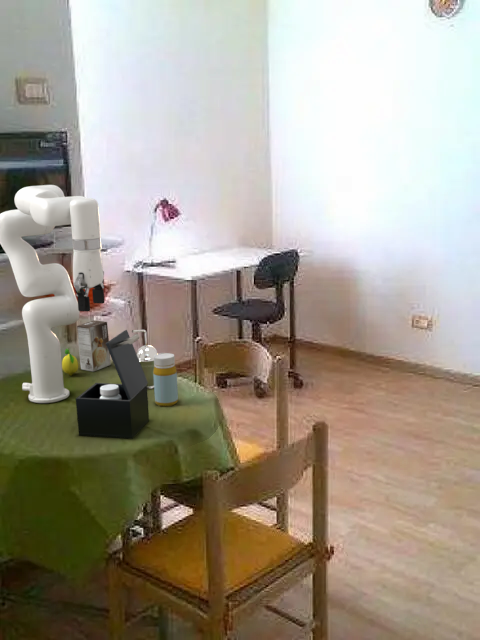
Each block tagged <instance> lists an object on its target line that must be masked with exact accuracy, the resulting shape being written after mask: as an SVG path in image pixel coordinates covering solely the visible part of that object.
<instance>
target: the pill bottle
mask: <svg viewBox="0 0 480 640" xmlns="http://www.w3.org/2000/svg"><path fill="white" fill-rule="evenodd" d="M115 384H116V383H110V384H108V385H104V386H101V387H100V394H101V395H102V396H101V397H100V399H114V400H122V397H121V395H120V394H118V393H119V386H118V385H115Z"/></svg>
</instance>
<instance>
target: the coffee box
mask: <svg viewBox="0 0 480 640" xmlns="http://www.w3.org/2000/svg"><path fill="white" fill-rule="evenodd" d="M76 330H77V340H78V343H77V344H78V352H79V353H78V354H79V362H80V363H79V365H80V370H82V371H86V372H93V373H94V372H96V371H99V370H101V369H104V368H106V367H108V366H111V365H112V364H111V355H110V353H109V350H108V348H107V346H106V343H107V342H108V341H110V339H109V327H108V321H104V320H103V321H102V320H96V319H95V320H91V321H88V322H85V323H82V324H78V325H76Z"/></svg>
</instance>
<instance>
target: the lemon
mask: <svg viewBox="0 0 480 640" xmlns="http://www.w3.org/2000/svg"><path fill="white" fill-rule="evenodd" d="M64 355H65V356H64V357H63V358H62V359H61V360H62V371H63V372H64V373H65V374H67V375H69V376H73V375H74V374H75V373H77V372H78V370H79V361H78V359H77V357H76V356H74V355H73V354H71V351H70V347H67V348H65V350H64Z"/></svg>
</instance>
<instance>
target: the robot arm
mask: <svg viewBox="0 0 480 640" xmlns="http://www.w3.org/2000/svg"><path fill="white" fill-rule="evenodd" d="M14 205H15V207H16V208H17V209H10V210H5V211H3V212H1V213H0V246H1V247H2V249H3V251H4V253H5V254H6V256H7V258H8V260H9V262H10V266H11V270H12V273H13V275H14V278H15V282H16V285H17V288H18V290H19V292H20V294H21V295H22V296H23V297H26V298H33V297H34V298H35V297H41V296H47V295H54V296H47V297H42V298H37V299H36V298H35V299H33V300H29V301H28V302H26V303H24V305H23V306H22V309H21V316H22V321H23V323H24V327H25V332H26V337H27V344H28V345H27V346H28V352H29V366H30V373H31V374H30V375H31V382H23V383H22V385H21V390H22V391H24V392H29V393H28V400H29V401H30V402H31V403H37V404H49V403H56V402H57V403H58V402H60V401H64V400H65V399H67V398H69V396H70V390H69V389H68V388H65V383H64V373H63V372H64V371H63V369H62V360H63V359H62V351H61V342H60V340H59V337H57V335H56V334H55V333H54V332H53V331H52V329H55V328H59V327H64V326H69V325H73V324H75V323H76V322H78V321H79V318H80V314H81V313H80V312H90V311H91V302H90V301H91V299H90V296H89V292H90V289H91V291H92V302H93V304H104V303H106V302H105V291H104V290H105V289H104V288H105V285H104V282H105V279H104V277H105V271H104V266H103V259H102V253H101V251H102V249H103V248H102V236H101V223H100V222H101V221H100V211H99V209H100V208H99V203H98V200H97V199H96V198H91V197H85V196H83V195H74V196H65V194H64V191H63V190H62V189H61V188H60V187H59V186H58V185H56V184H55V185H54V184H44V185H43V184H41V185H30V186H24V187H22V188H20V189H19V190H18V191H17V192H16V193H15V195H14ZM68 225H70V227H71V239H72V240H71V241H72V251H73V257H72V281H73V284H72V281H71V278H70V275H69V272H68V271H67V269H66V268H65V266H63V265H62V264H60V263H55V262H52V263H45V264H42V263H41V261H40V259H39V256H38V252H37V251H36V249H35V248H34V247H33V246H32V245H31V244H30V242H27V241H26V240H25V239H23V237H33V236H42V235H47V234H49V233H51V232H53V231H54V229H55V227H58V226H68Z"/></svg>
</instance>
